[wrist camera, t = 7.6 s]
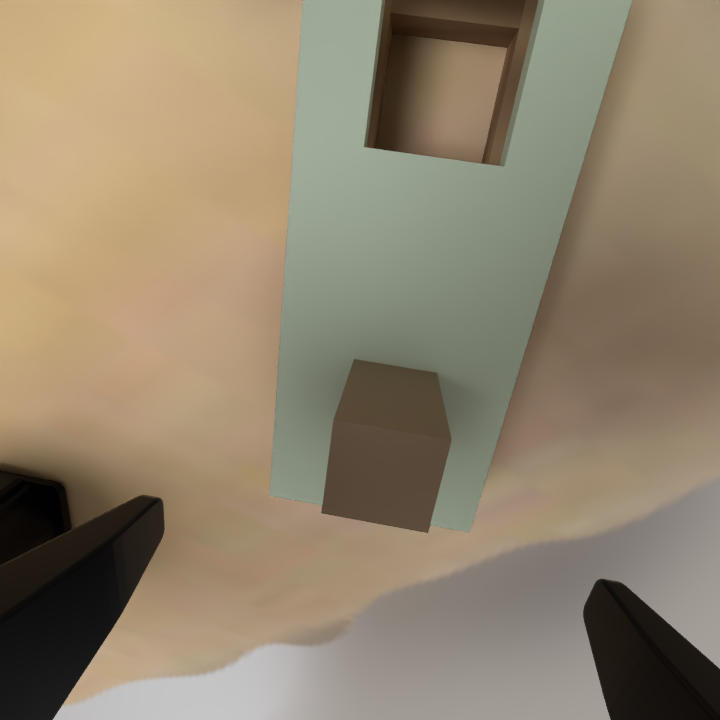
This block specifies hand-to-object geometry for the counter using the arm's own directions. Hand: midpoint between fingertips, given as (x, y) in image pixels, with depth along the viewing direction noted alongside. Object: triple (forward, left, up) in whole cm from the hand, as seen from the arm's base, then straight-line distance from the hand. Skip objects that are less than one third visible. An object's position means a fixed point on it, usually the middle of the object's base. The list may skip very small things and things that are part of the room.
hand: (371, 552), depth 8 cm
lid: (+4, 0, -8) cm, 9 cm away
